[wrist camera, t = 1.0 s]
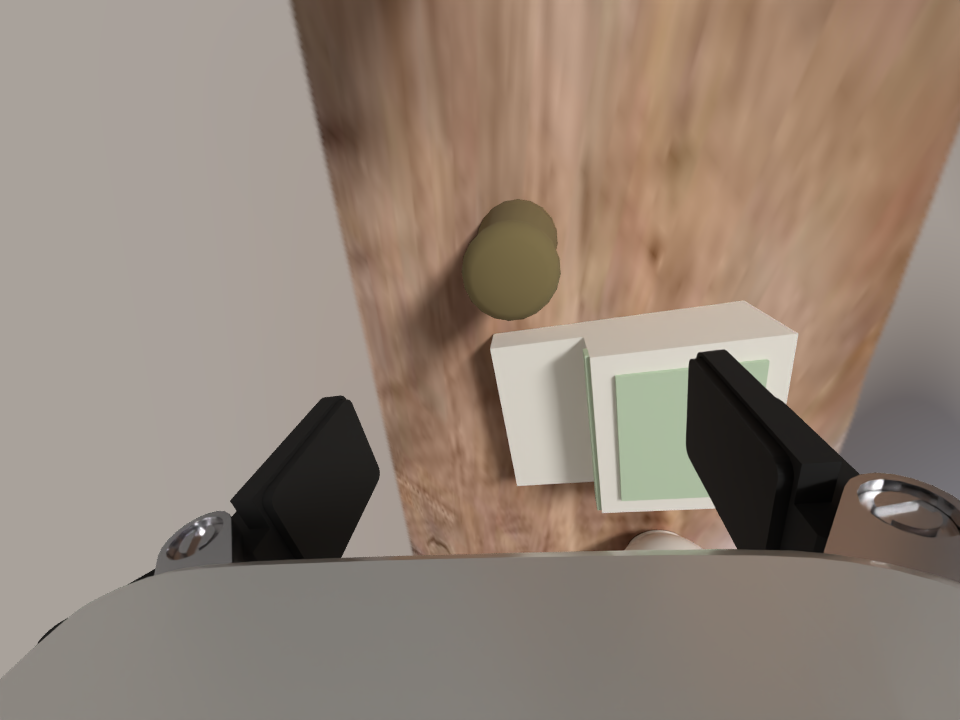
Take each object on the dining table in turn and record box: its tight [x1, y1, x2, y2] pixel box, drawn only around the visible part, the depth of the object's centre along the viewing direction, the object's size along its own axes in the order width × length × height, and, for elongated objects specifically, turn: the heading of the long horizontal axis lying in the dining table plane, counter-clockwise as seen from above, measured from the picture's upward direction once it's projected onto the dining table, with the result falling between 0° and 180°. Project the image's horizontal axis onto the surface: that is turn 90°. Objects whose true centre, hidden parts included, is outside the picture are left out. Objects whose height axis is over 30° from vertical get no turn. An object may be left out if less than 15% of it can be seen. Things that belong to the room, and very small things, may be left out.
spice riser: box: [490, 301, 798, 513], centre depth 30 cm, size 14×19×7 cm
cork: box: [462, 199, 561, 321], centre depth 24 cm, size 6×6×11 cm
